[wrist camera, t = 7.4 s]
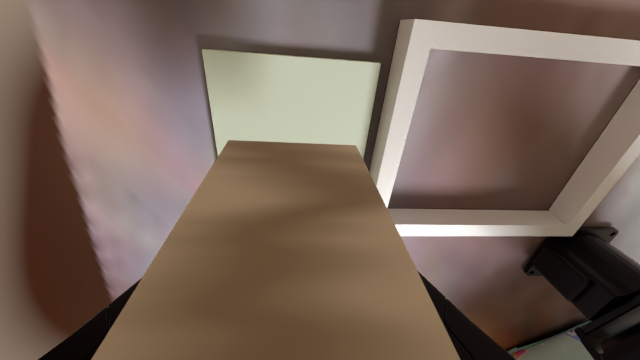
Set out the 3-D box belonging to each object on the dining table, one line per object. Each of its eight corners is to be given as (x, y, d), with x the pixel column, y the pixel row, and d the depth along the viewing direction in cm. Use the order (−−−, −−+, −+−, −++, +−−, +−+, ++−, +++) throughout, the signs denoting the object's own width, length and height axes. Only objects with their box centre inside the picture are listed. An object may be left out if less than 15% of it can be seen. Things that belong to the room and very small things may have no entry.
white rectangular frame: (679, 46, 16) (725, 48, 14) (552, 221, 23) (572, 236, 22) (400, 19, 14) (414, 18, 12) (359, 219, 21) (365, 235, 20)
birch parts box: (356, 145, 10) (486, 412, 3) (341, 236, 13) (393, 493, 6) (228, 139, 10) (38, 444, 3) (240, 235, 12) (160, 517, 5)
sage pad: (378, 62, 15) (380, 63, 14) (354, 198, 20) (355, 201, 20) (204, 48, 14) (201, 49, 13) (226, 195, 19) (224, 199, 19)
